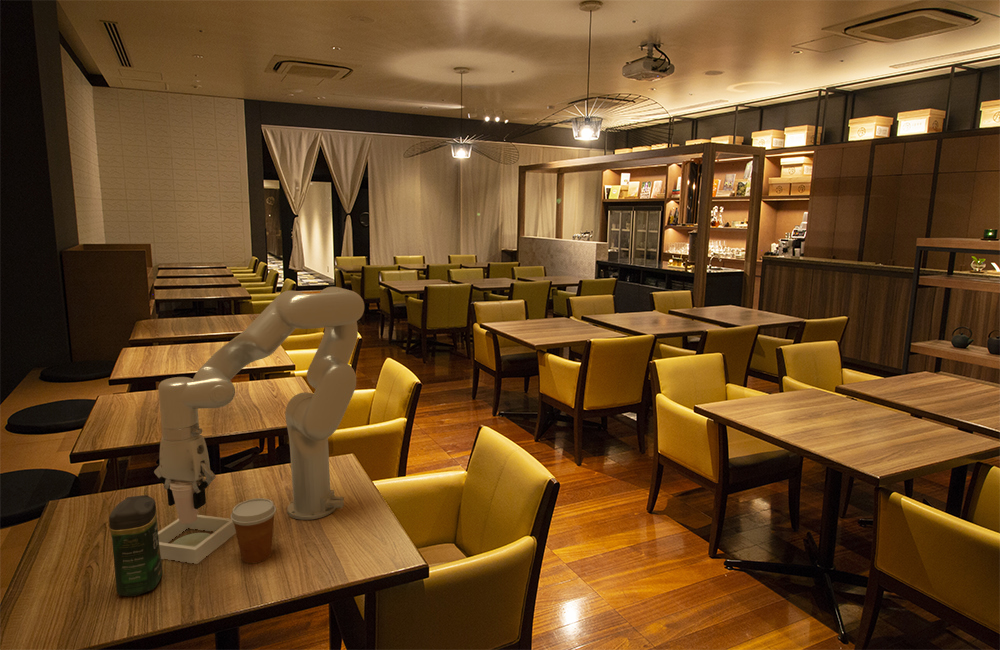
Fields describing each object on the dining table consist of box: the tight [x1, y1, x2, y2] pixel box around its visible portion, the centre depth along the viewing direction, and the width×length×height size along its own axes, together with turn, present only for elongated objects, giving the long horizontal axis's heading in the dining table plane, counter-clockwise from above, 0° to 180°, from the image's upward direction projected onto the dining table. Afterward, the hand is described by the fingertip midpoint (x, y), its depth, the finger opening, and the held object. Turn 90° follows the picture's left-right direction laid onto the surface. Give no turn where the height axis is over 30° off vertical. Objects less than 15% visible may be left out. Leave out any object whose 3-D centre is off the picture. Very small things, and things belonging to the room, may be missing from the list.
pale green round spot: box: [171, 532, 211, 547], centre depth 141 cm, size 9×9×1 cm
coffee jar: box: [108, 494, 163, 597], centre depth 124 cm, size 10×8×19 cm
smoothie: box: [170, 480, 200, 524], centre depth 138 cm, size 6×6×14 cm
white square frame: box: [158, 514, 236, 565], centre depth 141 cm, size 14×14×4 cm
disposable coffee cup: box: [230, 497, 277, 564], centre depth 135 cm, size 10×10×12 cm
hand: (187, 504), depth 139 cm, fingers closed on smoothie, 6 cm apart
